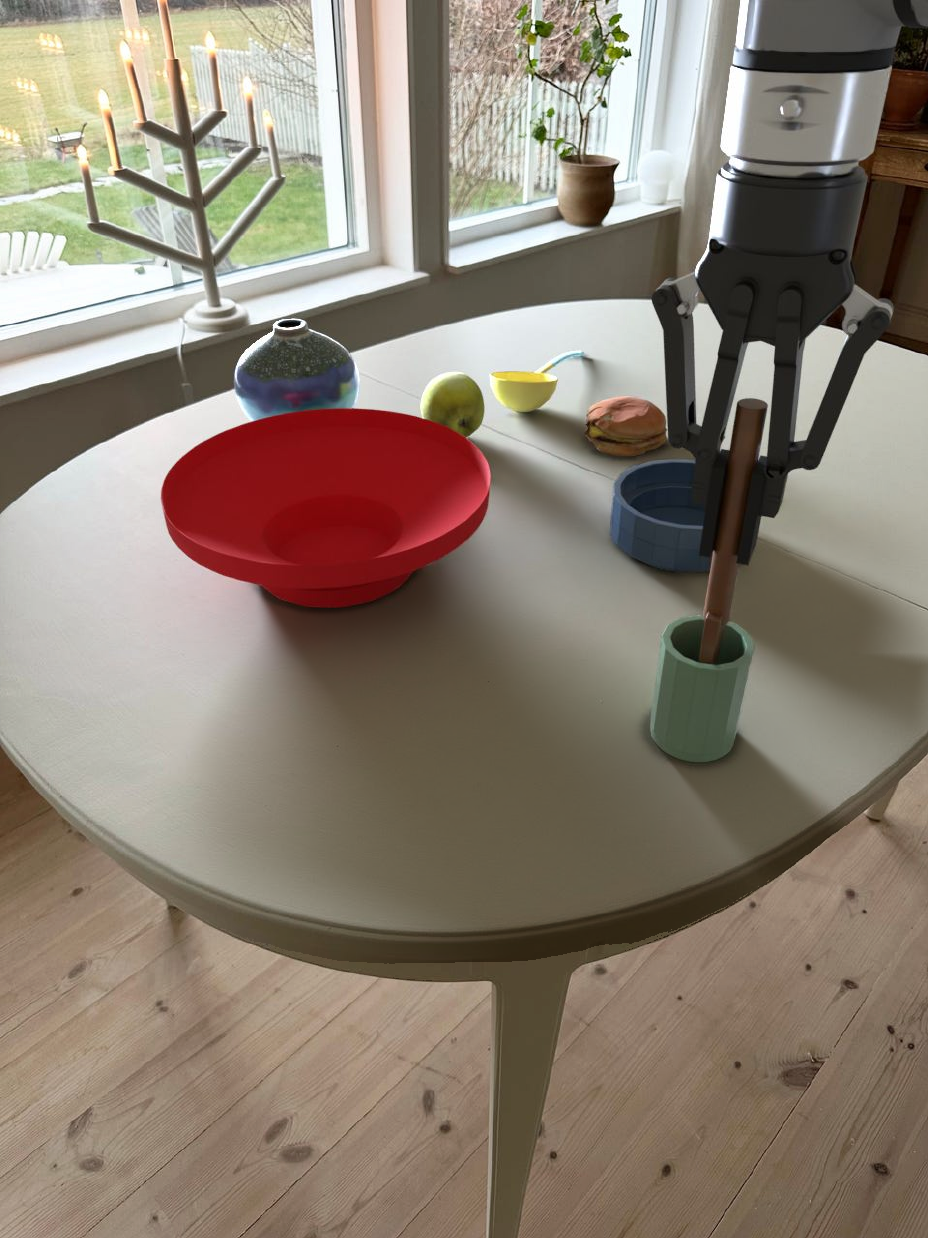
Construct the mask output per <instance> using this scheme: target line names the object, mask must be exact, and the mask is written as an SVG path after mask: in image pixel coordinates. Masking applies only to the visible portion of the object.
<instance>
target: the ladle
mask: <svg viewBox="0 0 928 1238" xmlns="http://www.w3.org/2000/svg"><path fill="white" fill-rule="evenodd" d="M580 356H581V357H582V356H585V352H584V351H582V350H575V351H569V352H565V353H562V354H560V355H558V356H556V357H554V358H552V359H551V360H550V361H548V362H547V363H545V365H543V366H542V367H540V368H539V369H538V370H536V371H535V372H533V371H520V370H514V371H513V370H512V371H511V370H510V371H508V370H507V371H496V372H492V373H491V374H489V378H490V380H489V381H490V387H491V390H492V393H493V394H494V396H495V397H494V398H496V400H498V402H499V403H500V404H501V405H502V406H503V407H505V408H507V409H509V410H511V411H513V412H518V413H519V412H520V413H528V412H529V413H530V412H533V411H535V410H538V409H540V408H542V407H543V406H544V405H545V404H546V403H547V402H549V401H550V399H551V398H552V397H553V395H554V393H555V392H556V389H557V385H558V381H559V379H558V378H557V376H554V375H551V374H547V372H549V371H550V370H551V369H553V368H555V367H557V366H558V365H559V364H560V363H562V362H564V361H567V360H570V359H571V358H575V357H580Z"/></svg>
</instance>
